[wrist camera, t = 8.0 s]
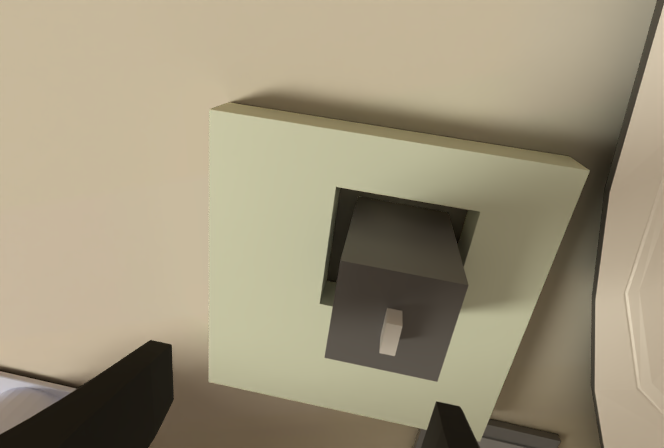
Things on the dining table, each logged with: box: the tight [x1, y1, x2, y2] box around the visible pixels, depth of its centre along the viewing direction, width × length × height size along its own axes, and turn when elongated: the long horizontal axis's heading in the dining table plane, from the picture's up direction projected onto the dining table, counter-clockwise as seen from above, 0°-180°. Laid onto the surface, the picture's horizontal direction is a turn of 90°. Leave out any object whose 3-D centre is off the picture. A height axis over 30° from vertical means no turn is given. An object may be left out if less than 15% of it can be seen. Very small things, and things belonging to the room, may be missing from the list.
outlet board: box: [208, 102, 590, 442], centre depth 19 cm, size 14×14×2 cm
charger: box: [324, 196, 468, 382], centre depth 16 cm, size 4×4×7 cm
